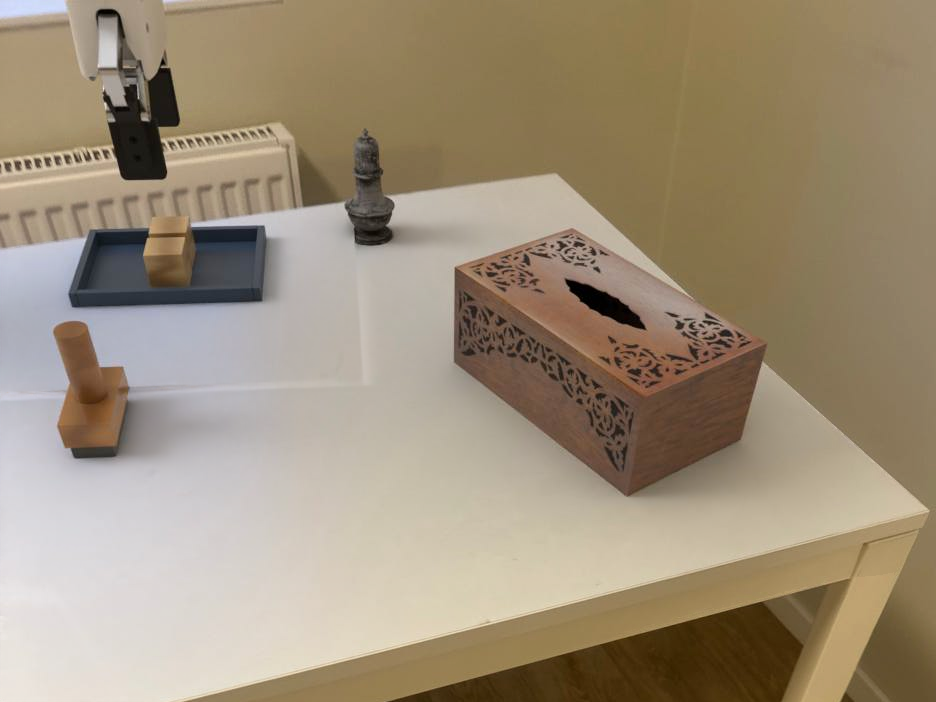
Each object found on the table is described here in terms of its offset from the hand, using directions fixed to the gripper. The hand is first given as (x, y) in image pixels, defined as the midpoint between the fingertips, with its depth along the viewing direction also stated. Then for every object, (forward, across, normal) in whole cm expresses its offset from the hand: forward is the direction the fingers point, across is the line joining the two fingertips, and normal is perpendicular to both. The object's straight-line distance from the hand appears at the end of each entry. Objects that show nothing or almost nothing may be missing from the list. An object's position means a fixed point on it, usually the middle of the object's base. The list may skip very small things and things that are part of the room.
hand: (152, 150), depth 72 cm
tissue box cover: (+24, 0, +36) cm, 44 cm away
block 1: (+23, -30, -6) cm, 38 cm away
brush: (+24, +1, -10) cm, 26 cm away
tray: (+24, -27, -6) cm, 36 cm away
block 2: (+23, -24, -6) cm, 34 cm away
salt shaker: (+24, -36, +16) cm, 46 cm away
